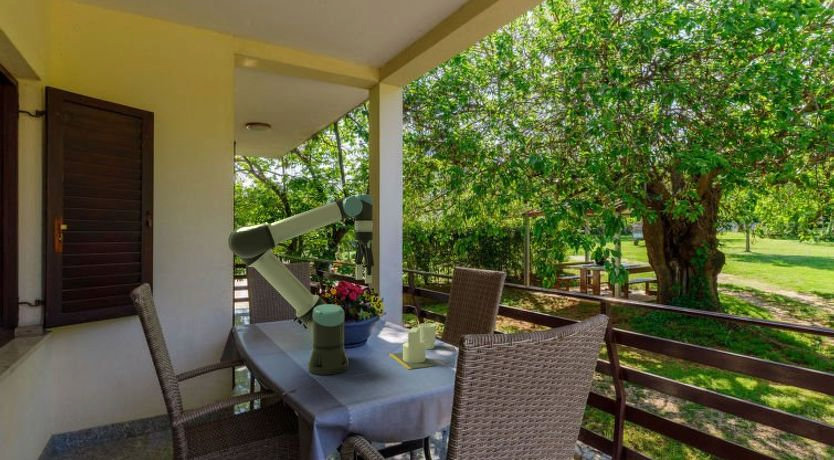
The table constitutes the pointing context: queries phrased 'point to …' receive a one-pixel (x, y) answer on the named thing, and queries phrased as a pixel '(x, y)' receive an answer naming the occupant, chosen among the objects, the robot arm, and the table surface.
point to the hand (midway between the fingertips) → (363, 281)
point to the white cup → (427, 334)
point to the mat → (408, 365)
